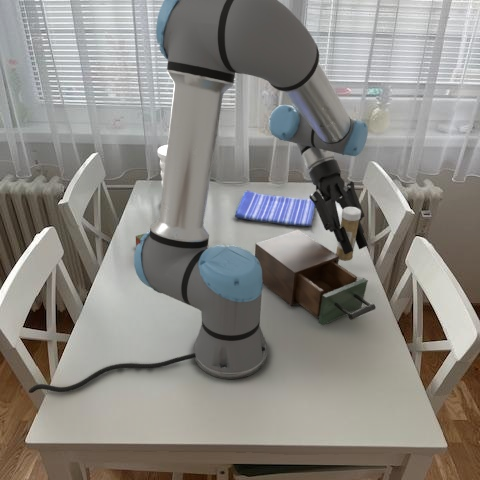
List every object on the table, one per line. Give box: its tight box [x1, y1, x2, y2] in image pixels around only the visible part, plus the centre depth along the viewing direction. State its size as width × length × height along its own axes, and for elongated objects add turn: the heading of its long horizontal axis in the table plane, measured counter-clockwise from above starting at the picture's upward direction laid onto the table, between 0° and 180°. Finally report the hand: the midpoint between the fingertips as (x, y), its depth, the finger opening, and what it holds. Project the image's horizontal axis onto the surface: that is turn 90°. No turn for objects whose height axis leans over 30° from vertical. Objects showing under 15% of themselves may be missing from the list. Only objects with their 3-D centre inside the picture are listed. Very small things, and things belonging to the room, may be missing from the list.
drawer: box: [294, 261, 376, 326], centre depth 113 cm, size 20×12×8 cm, turn 34°
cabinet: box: [254, 229, 340, 307], centre depth 122 cm, size 16×14×10 cm
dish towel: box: [234, 190, 316, 227], centre depth 155 cm, size 17×24×3 cm
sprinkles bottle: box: [335, 207, 361, 262], centre depth 125 cm, size 5×5×14 cm
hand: (356, 249), depth 124 cm, fingers closed on sprinkles bottle, 4 cm apart
